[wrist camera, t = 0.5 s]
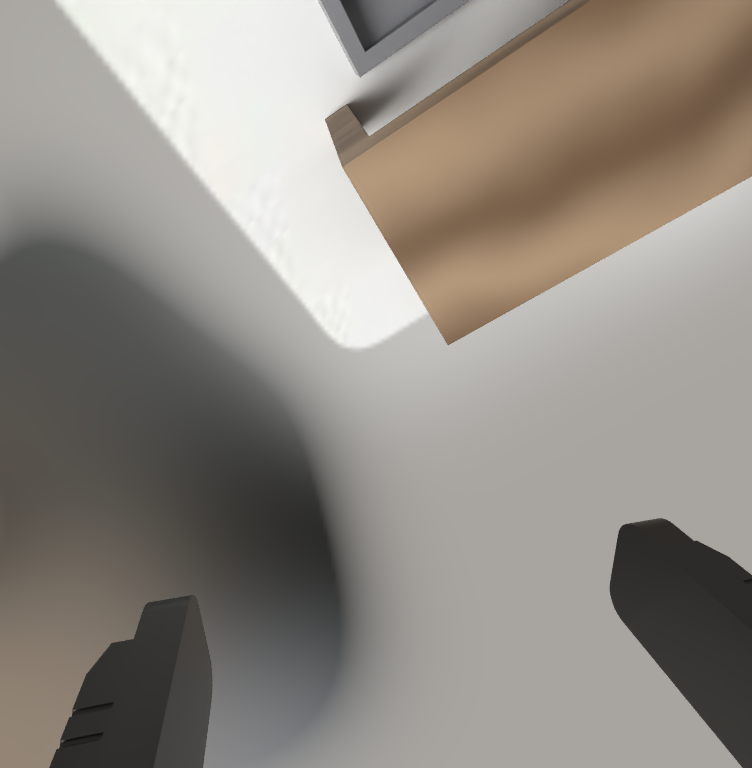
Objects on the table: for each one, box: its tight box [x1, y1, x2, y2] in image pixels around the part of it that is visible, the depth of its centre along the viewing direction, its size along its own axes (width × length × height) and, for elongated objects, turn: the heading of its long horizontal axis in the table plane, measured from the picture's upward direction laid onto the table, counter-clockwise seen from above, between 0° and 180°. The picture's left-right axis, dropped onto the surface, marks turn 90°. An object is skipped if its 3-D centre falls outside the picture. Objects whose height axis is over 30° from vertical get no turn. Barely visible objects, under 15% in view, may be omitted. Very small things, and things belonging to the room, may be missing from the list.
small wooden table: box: [325, 0, 752, 345], centre depth 25 cm, size 10×17×12 cm, turn 120°
